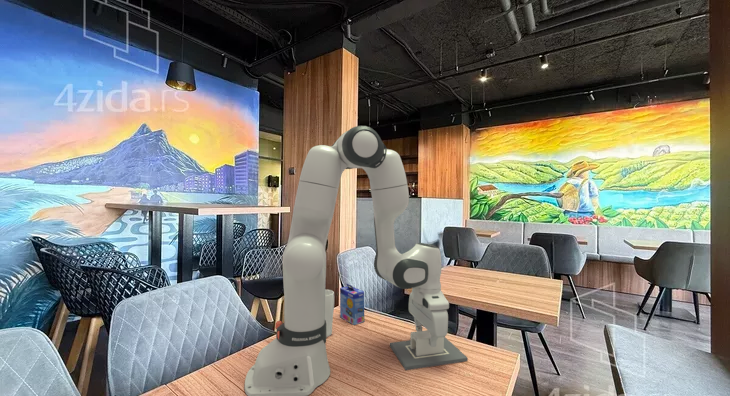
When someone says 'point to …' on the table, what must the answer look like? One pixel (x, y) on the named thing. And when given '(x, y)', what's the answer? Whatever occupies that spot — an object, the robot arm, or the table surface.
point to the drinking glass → (329, 310)
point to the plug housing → (425, 343)
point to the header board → (415, 362)
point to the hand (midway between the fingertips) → (425, 338)
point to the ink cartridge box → (352, 304)
